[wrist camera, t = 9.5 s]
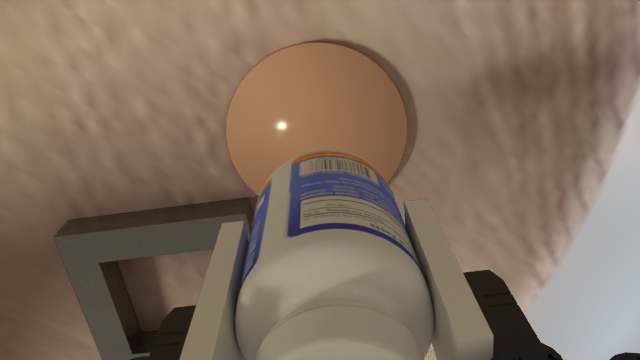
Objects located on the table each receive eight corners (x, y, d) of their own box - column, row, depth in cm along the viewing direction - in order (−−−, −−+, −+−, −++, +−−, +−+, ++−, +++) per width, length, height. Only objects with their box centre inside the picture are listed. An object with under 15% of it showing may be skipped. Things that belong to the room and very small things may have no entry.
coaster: (245, 220, 30) (244, 225, 30) (210, 54, 26) (208, 56, 26) (409, 200, 30) (411, 204, 30) (400, 29, 26) (402, 31, 25)
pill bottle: (317, 288, 21) (326, 528, 12) (227, 202, 19) (162, 411, 11) (421, 214, 20) (514, 424, 11) (335, 115, 18) (363, 270, 9)
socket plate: (121, 358, 34) (110, 381, 33) (68, 220, 30) (52, 237, 28) (278, 340, 34) (277, 361, 32) (249, 197, 30) (245, 213, 28)
